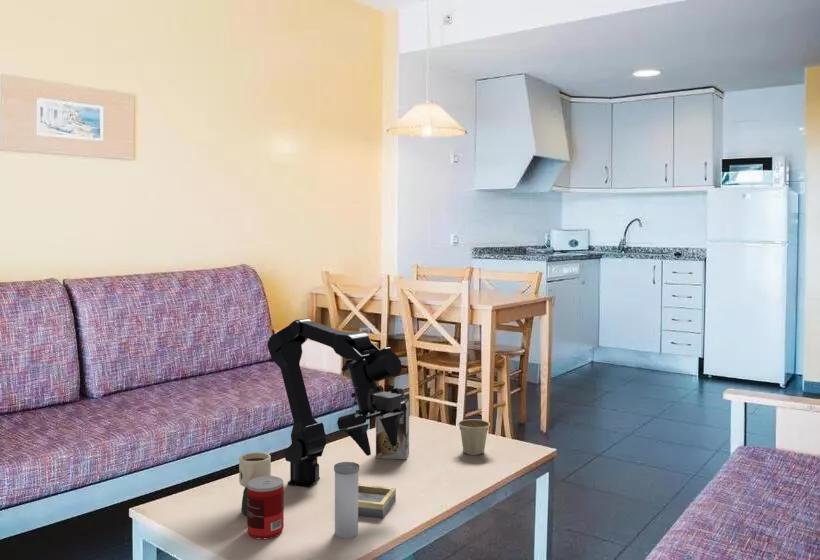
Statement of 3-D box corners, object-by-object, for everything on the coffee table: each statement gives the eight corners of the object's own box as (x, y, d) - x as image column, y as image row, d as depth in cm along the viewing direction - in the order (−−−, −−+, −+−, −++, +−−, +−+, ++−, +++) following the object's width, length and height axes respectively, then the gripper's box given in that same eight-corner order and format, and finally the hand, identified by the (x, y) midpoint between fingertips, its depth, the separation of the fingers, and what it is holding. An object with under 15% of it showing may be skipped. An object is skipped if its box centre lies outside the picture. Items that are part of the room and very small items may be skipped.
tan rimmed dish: (339, 513, 162) (339, 499, 162) (354, 496, 172) (354, 483, 172) (383, 518, 159) (383, 504, 159) (395, 501, 169) (395, 488, 169)
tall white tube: (330, 537, 149) (330, 468, 148) (338, 526, 154) (339, 460, 153) (354, 540, 148) (354, 471, 147) (362, 529, 153) (362, 463, 152)
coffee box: (409, 453, 206) (410, 398, 205) (406, 460, 200) (406, 404, 198) (379, 451, 207) (379, 397, 206) (374, 458, 201) (375, 402, 200)
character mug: (246, 502, 167) (245, 449, 166) (275, 503, 167) (275, 449, 166) (233, 521, 157) (233, 464, 156) (265, 522, 156) (265, 465, 155)
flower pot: (452, 448, 211) (453, 420, 210) (481, 446, 213) (482, 418, 213) (464, 458, 202) (465, 428, 201) (494, 455, 204) (495, 426, 204)
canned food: (286, 524, 156) (286, 475, 155) (280, 539, 148) (280, 488, 147) (251, 524, 155) (250, 475, 155) (243, 540, 147) (243, 488, 147)
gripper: (362, 384, 154) (380, 455, 152) (414, 371, 169) (432, 436, 166) (328, 394, 161) (345, 462, 159) (381, 381, 175) (398, 443, 173)
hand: (382, 450), depth 164 cm, fingers open, 9 cm apart
